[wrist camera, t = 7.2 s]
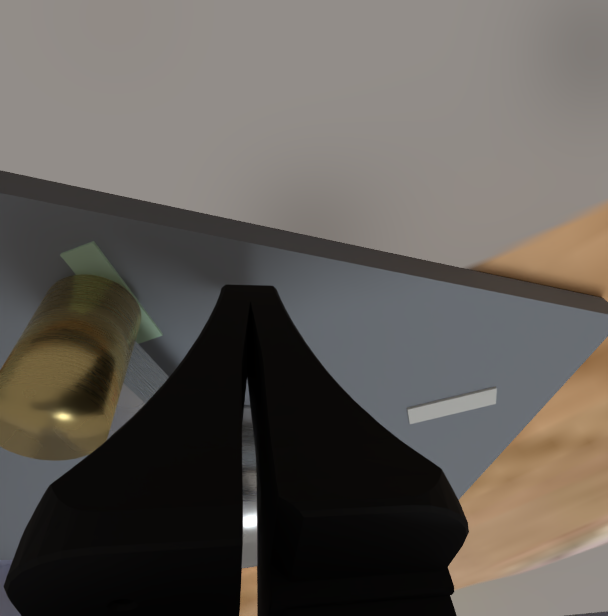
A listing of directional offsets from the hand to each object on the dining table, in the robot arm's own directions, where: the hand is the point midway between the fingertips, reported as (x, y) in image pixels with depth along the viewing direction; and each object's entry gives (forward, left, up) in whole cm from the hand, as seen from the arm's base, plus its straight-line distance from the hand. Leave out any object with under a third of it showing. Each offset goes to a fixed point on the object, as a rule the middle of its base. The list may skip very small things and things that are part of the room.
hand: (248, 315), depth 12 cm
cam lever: (-6, +1, -1) cm, 6 cm away
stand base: (-9, -1, -3) cm, 9 cm away
